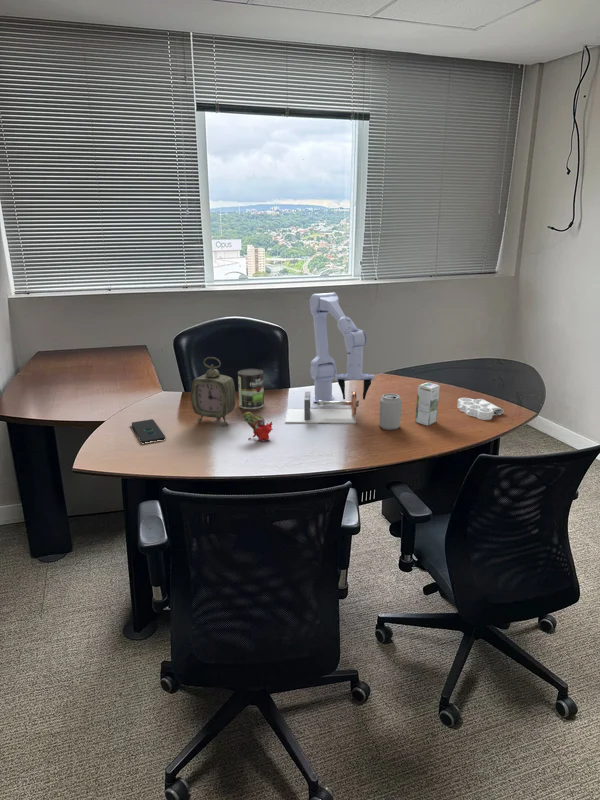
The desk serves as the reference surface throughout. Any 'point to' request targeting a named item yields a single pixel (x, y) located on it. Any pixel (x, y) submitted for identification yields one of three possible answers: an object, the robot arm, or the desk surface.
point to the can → (390, 411)
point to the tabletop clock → (213, 394)
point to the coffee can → (251, 388)
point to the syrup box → (427, 403)
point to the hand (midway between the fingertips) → (353, 398)
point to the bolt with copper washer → (343, 403)
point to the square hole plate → (307, 406)
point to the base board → (321, 416)
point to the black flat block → (148, 431)
